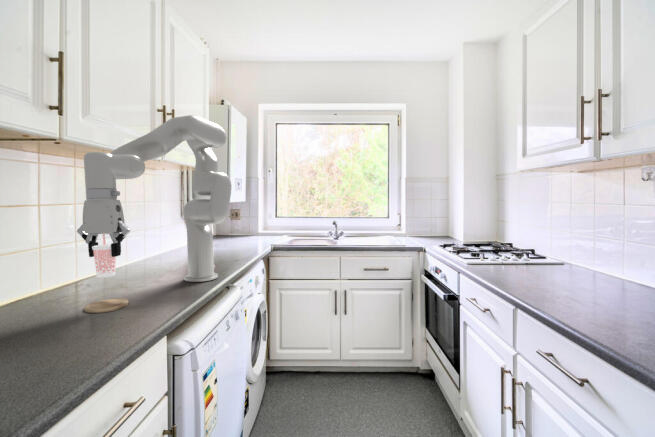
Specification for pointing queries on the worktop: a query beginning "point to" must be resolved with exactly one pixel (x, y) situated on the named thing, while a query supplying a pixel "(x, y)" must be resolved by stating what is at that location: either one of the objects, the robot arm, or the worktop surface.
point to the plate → (106, 305)
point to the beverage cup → (104, 260)
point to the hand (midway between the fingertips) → (105, 255)
